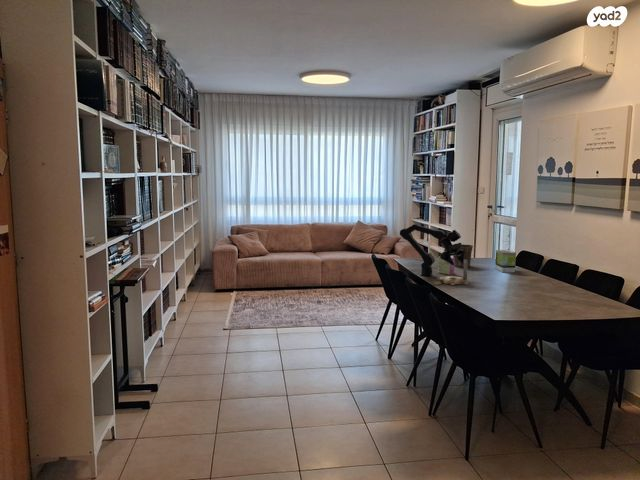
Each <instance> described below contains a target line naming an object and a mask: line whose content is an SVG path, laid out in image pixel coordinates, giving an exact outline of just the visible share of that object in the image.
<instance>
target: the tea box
mask: <svg viewBox="0 0 640 480" xmlns="http://www.w3.org/2000/svg"><path fill="white" fill-rule="evenodd" d="M516 260H517V252H515V251H513V250H510V249H496V250H495V265H494V269H496V270H497V271H498V272H501V273H515V272H516V263H517V262H516Z"/></svg>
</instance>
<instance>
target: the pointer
mask: <svg viewBox="0 0 640 480" xmlns="http://www.w3.org/2000/svg"><path fill="white" fill-rule="evenodd" d="M433 282H434V285H436V286H437V285H438V286H439V285H442V283H441V281H437V280H434V281H433Z"/></svg>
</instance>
